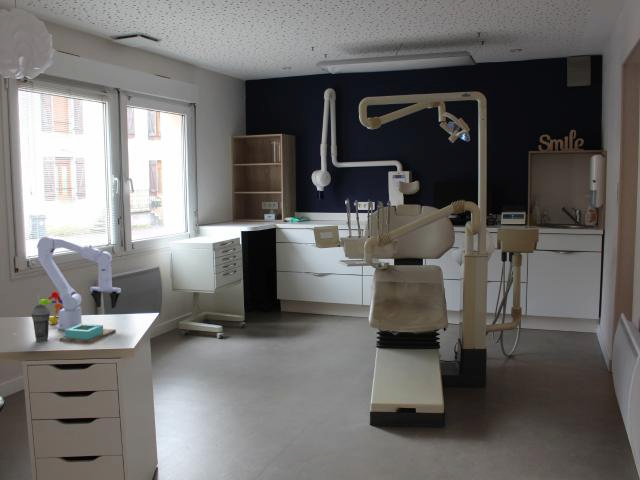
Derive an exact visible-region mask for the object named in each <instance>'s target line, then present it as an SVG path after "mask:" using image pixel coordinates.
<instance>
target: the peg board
mask: <svg viewBox="0 0 640 480" xmlns="http://www.w3.org/2000/svg"><path fill="white" fill-rule="evenodd" d="M81 327H82V330H87V325H81ZM114 333H117V329H113V328H103V334H100V335H98V336H96V337H93V338H91V339H89V340H86V339H73V338H66V335H63V336H62V337H60V338H59V342H68V343H80V344H93V343H95V342H97V341H99V340H101V339H104V338H107V337H109V336H110V334H111V335H112V334H114ZM108 335H109V336H108Z"/></svg>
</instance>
